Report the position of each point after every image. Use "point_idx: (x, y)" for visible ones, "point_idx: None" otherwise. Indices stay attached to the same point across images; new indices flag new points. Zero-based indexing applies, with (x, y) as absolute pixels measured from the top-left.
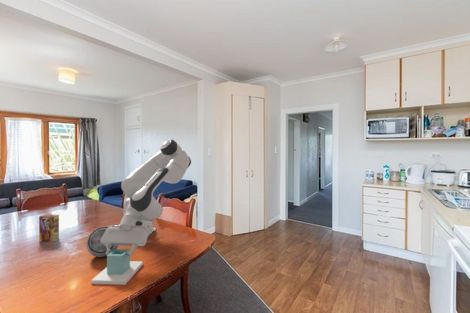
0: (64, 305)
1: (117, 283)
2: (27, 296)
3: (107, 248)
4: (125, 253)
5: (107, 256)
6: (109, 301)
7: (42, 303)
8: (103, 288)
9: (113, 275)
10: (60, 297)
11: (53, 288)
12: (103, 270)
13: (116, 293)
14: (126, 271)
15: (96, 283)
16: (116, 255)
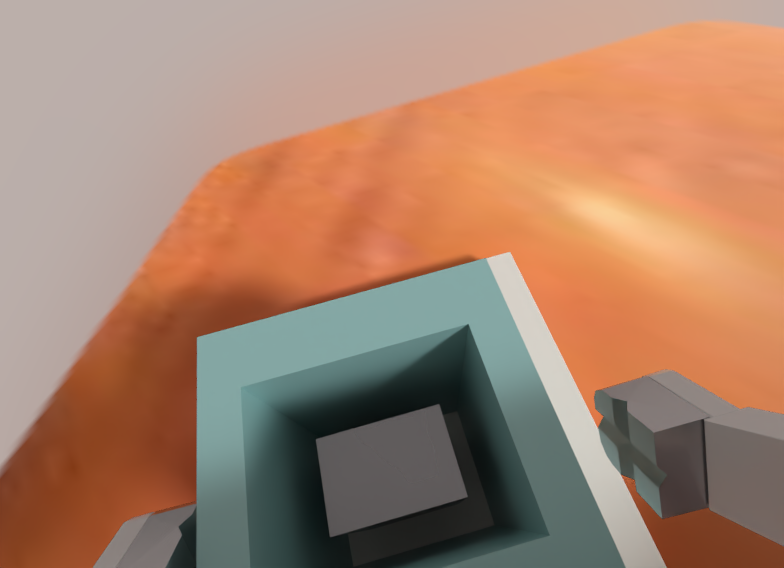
0: (442, 108)
1: None
2: (737, 76)
3: (772, 424)
4: (202, 468)
5: (472, 268)
6: (226, 195)
7: (572, 80)
8: (360, 262)
9: None
10: (540, 128)
11: (704, 154)
12: (580, 415)
13: (229, 254)
14: None
15: None
16: (311, 313)
